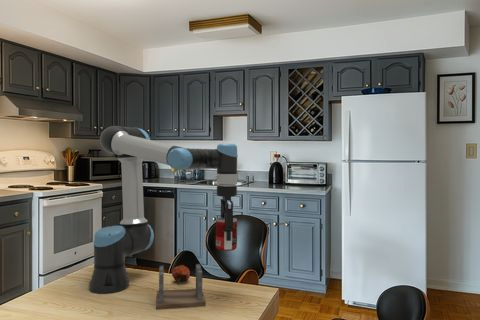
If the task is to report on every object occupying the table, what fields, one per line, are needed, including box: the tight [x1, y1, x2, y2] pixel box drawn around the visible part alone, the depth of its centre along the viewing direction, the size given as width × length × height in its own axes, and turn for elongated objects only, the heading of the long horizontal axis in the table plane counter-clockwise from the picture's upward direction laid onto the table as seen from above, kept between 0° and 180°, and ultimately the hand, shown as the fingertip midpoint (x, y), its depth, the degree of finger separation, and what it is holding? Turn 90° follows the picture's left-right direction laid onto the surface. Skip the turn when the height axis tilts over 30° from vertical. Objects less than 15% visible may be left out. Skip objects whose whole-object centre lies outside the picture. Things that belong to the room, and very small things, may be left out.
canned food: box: [215, 217, 238, 252], centre depth 142 cm, size 8×8×11 cm
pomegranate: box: [171, 263, 191, 285], centre depth 158 cm, size 7×7×10 cm
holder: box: [155, 263, 206, 311], centre depth 139 cm, size 14×17×12 cm
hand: (226, 246), depth 142 cm, fingers closed on canned food, 8 cm apart
